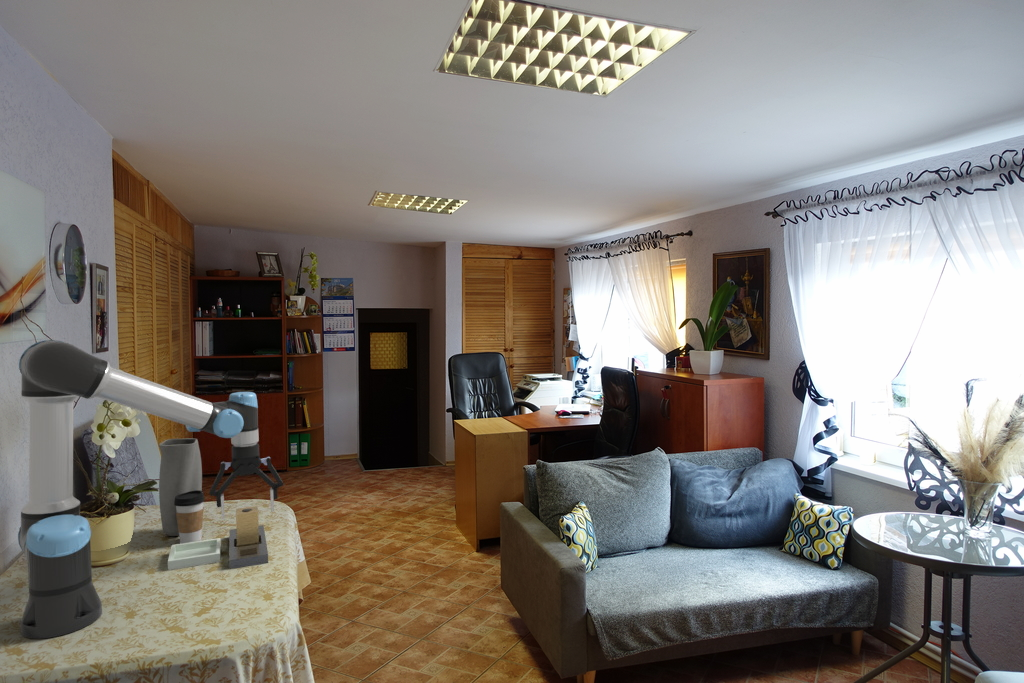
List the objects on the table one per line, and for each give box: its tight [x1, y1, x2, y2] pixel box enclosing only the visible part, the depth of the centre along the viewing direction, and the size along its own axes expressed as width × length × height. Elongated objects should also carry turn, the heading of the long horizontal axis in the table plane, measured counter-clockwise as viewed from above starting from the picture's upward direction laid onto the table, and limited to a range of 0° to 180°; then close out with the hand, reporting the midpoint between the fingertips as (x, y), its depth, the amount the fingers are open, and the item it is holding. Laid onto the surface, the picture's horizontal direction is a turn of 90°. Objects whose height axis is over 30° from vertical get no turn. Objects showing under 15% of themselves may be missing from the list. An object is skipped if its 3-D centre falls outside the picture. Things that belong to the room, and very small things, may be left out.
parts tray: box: [167, 537, 222, 571], centre depth 176 cm, size 13×13×2 cm
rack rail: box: [228, 524, 269, 570], centre depth 182 cm, size 26×10×3 cm, turn 25°
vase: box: [158, 437, 203, 537], centre depth 195 cm, size 12×12×30 cm
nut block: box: [235, 505, 260, 547], centre depth 182 cm, size 6×6×12 cm
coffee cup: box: [174, 490, 205, 544], centre depth 188 cm, size 8×8×15 cm
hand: (248, 513), depth 182 cm, fingers open, 13 cm apart
